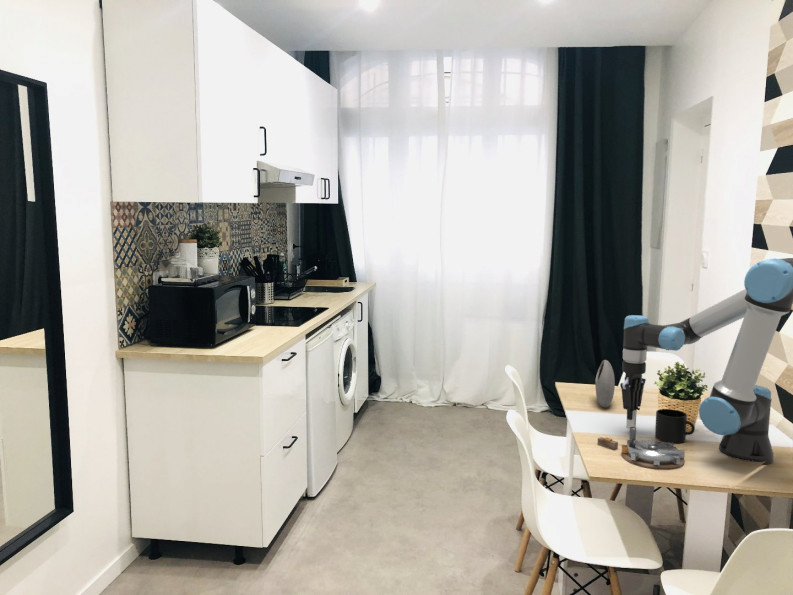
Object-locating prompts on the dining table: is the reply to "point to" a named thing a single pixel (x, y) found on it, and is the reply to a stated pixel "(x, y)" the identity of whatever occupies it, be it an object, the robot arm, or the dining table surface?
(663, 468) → the sprocket base
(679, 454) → the sprocket
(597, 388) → the grey flattened round ornament
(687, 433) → the mug
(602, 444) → the rail
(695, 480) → the dining table surface
